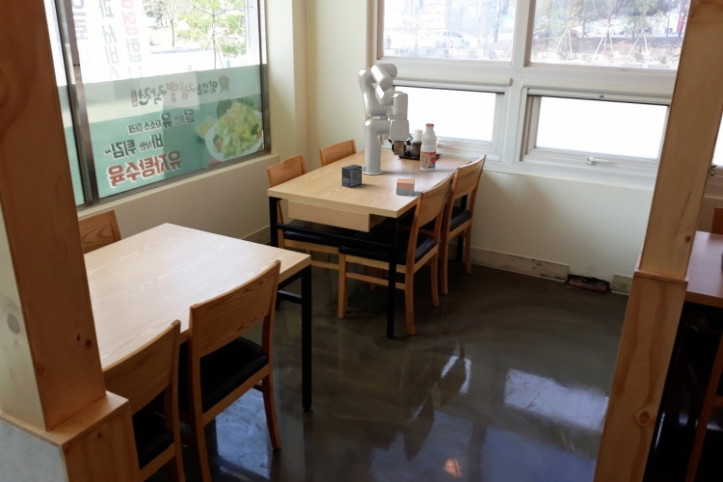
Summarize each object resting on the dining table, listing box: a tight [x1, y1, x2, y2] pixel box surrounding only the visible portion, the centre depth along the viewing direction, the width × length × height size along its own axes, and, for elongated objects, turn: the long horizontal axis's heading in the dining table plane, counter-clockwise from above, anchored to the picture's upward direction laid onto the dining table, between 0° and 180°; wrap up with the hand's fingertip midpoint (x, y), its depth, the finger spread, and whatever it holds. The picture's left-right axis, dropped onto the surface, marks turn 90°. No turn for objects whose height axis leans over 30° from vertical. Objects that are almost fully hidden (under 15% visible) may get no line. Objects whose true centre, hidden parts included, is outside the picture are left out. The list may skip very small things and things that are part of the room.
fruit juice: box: [419, 123, 437, 173], centre depth 356 cm, size 9×9×28 cm
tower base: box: [395, 187, 415, 196], centre depth 312 cm, size 9×9×4 cm
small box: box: [341, 164, 363, 189], centre depth 323 cm, size 11×6×10 cm, turn 141°
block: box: [393, 140, 405, 156], centre depth 312 cm, size 5×5×7 cm
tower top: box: [396, 177, 416, 191], centre depth 311 cm, size 9×9×4 cm
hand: (398, 151), depth 313 cm, fingers closed on block, 5 cm apart
